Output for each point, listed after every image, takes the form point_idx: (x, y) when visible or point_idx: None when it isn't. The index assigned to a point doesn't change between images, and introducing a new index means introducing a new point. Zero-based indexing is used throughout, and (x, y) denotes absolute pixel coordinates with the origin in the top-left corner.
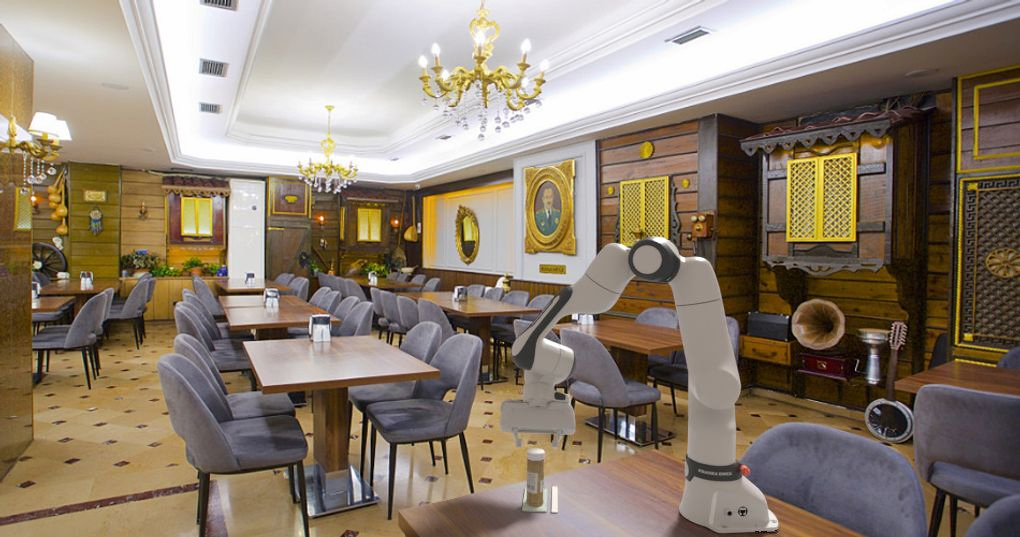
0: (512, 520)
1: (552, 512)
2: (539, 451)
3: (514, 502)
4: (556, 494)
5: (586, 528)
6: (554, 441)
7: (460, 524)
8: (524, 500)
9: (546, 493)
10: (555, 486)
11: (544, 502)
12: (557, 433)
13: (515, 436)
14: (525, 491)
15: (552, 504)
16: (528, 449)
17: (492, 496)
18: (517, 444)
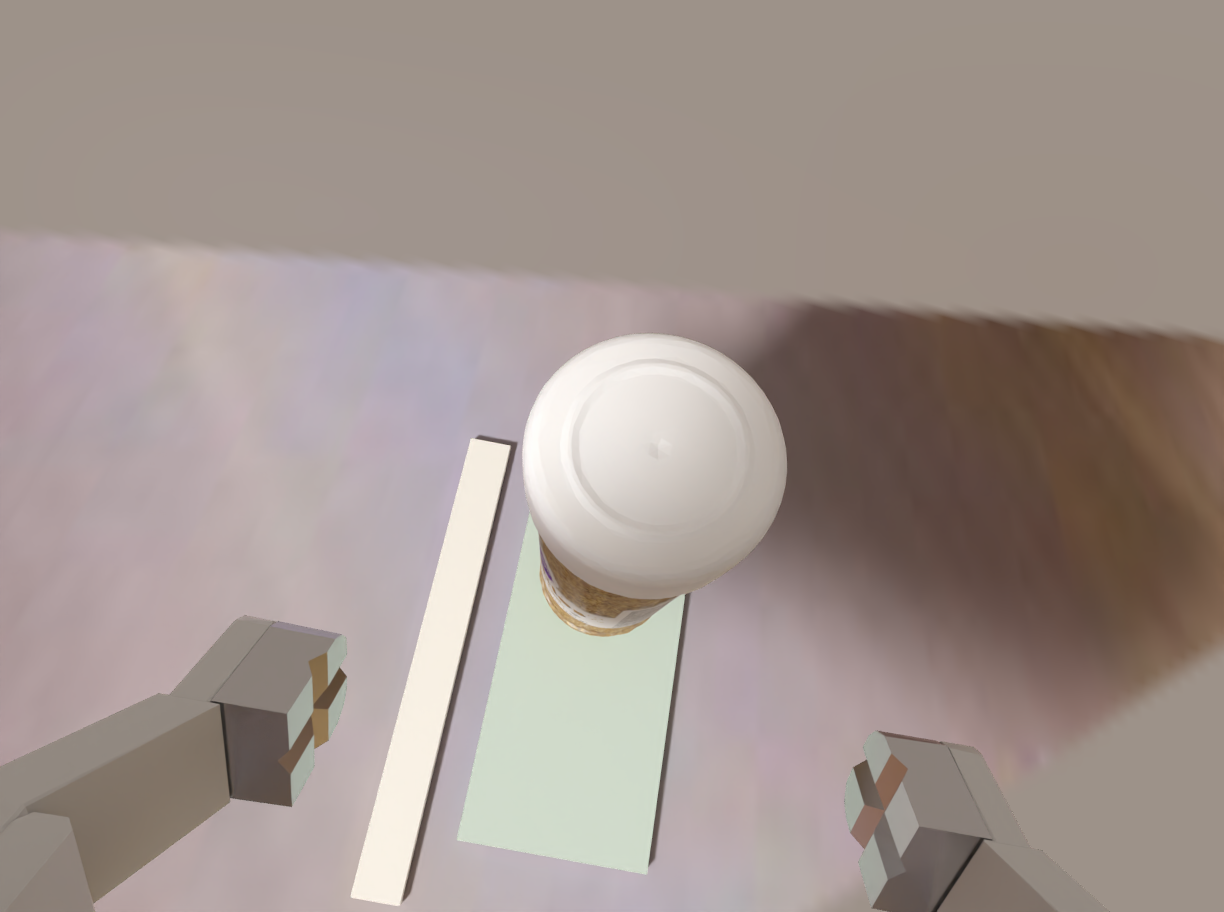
0: (761, 378)
1: (504, 447)
2: (607, 405)
3: (742, 617)
4: (406, 721)
5: (351, 261)
6: (256, 685)
7: (1042, 359)
8: (673, 615)
9: (485, 735)
10: (370, 899)
11: (532, 575)
12: (56, 823)
13: (1075, 891)
14: (651, 784)
15: (480, 547)
16: (765, 503)
17: (902, 728)
18: (946, 744)
